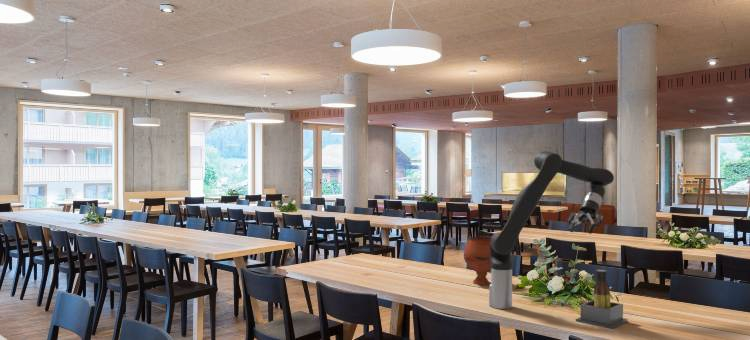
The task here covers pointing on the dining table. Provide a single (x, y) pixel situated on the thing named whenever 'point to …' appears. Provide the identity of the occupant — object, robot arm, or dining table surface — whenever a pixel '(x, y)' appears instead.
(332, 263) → the dining table surface
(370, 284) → the dining table surface
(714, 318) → the dining table surface
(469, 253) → the goblet
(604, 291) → the sauce bottle
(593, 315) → the box
